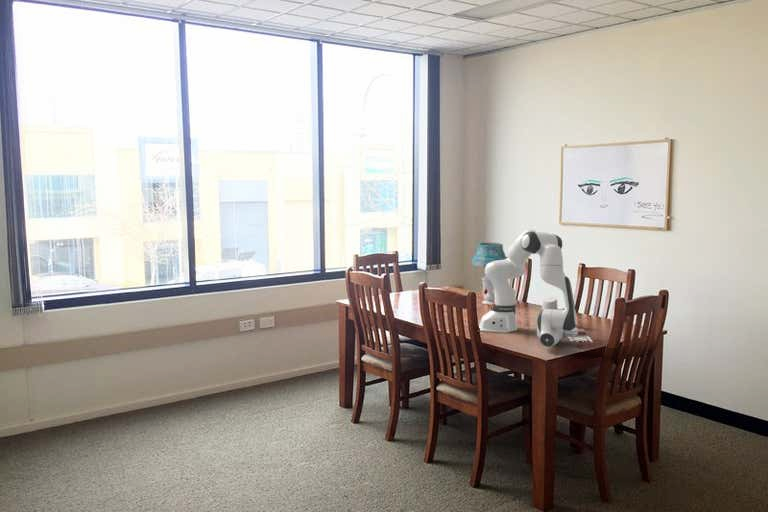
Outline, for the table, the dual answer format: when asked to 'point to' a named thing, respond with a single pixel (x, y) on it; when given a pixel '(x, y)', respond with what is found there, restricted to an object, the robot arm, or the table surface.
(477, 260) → the table lamp
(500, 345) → the table surface
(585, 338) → the sheet
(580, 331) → the ink pad
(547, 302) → the smart speaker
